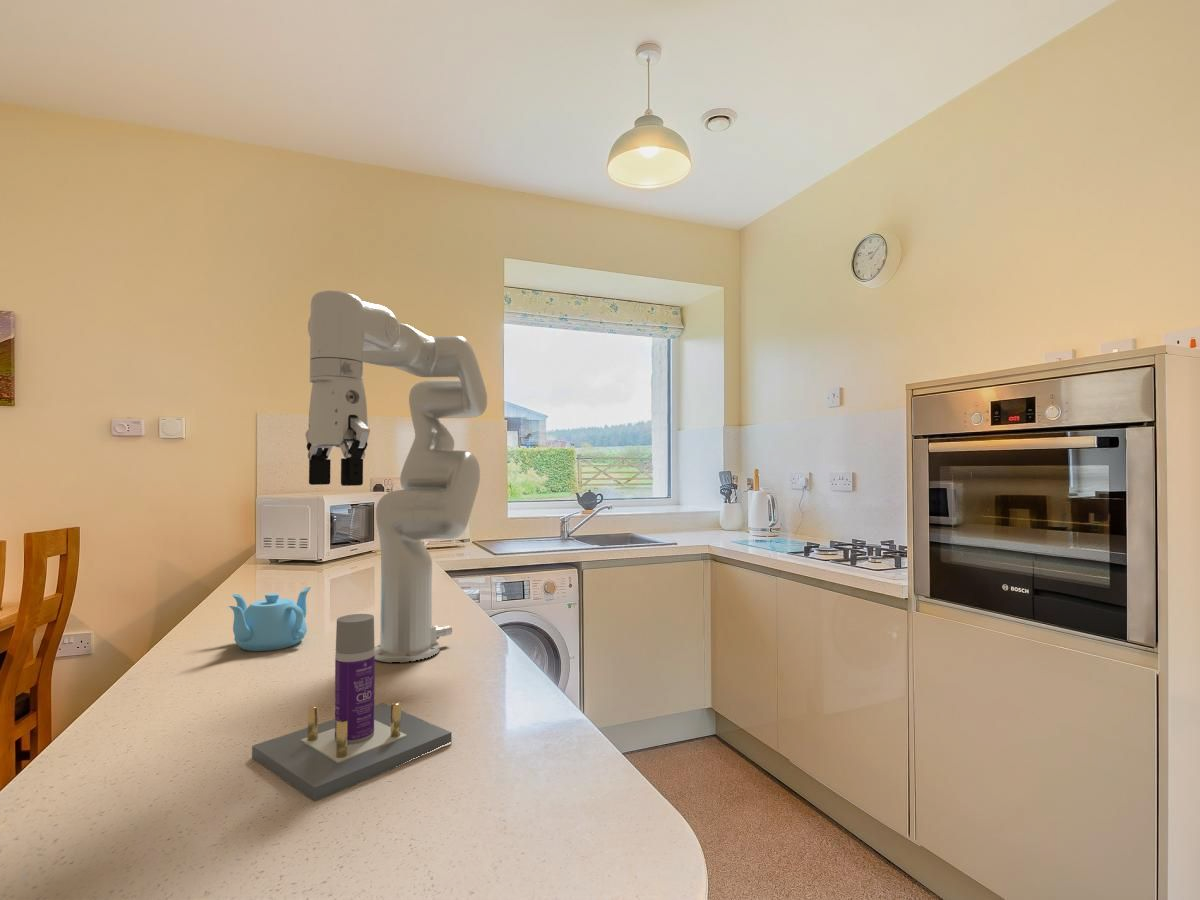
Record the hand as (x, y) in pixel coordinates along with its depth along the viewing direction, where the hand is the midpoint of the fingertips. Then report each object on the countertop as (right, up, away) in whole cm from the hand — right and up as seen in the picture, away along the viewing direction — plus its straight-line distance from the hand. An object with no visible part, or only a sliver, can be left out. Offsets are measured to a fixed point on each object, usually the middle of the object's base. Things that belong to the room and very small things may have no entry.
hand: (335, 484), depth 95 cm
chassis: (+9, -33, -16) cm, 38 cm away
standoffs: (+9, -31, -16) cm, 36 cm away
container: (+9, -31, -16) cm, 36 cm away
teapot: (-28, -35, +32) cm, 54 cm away
